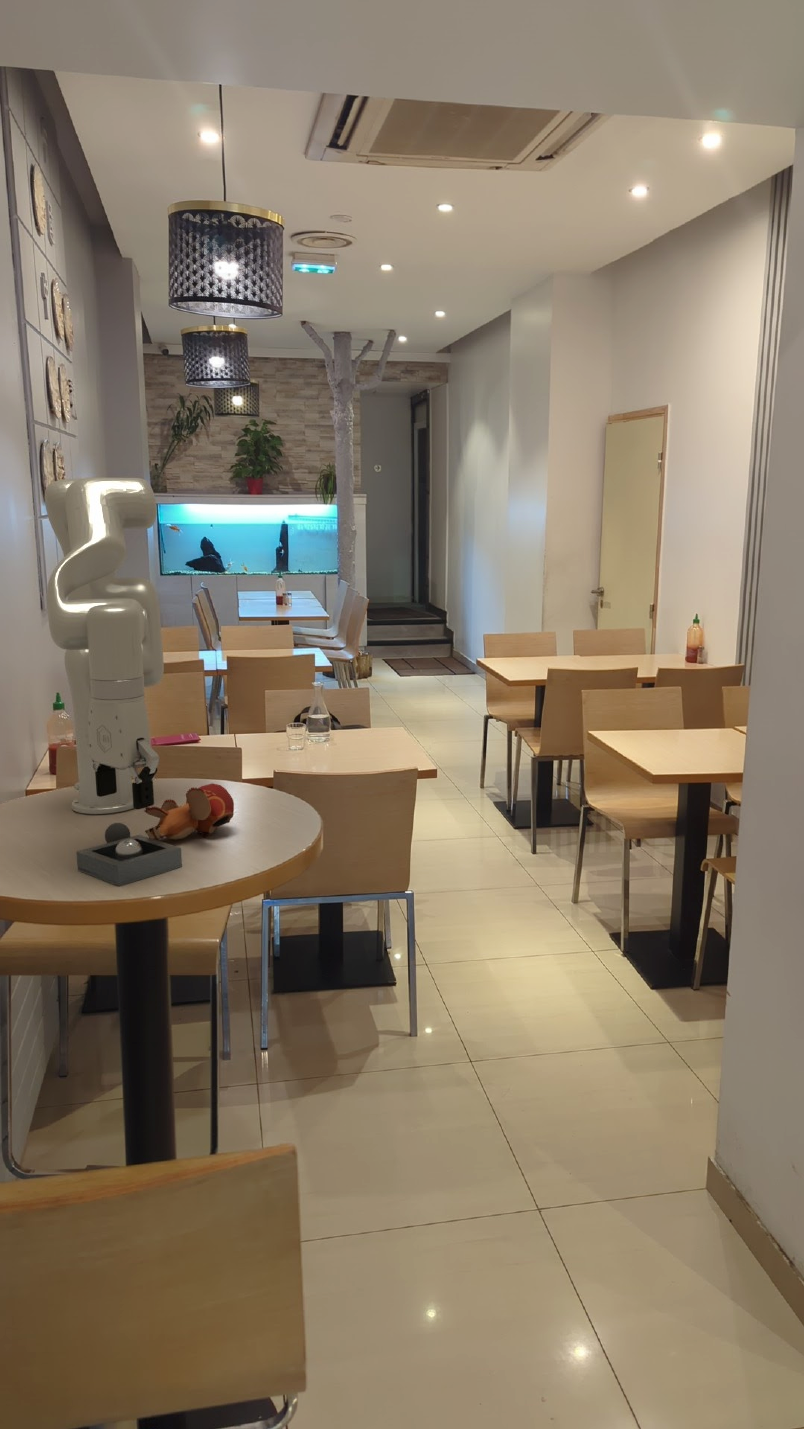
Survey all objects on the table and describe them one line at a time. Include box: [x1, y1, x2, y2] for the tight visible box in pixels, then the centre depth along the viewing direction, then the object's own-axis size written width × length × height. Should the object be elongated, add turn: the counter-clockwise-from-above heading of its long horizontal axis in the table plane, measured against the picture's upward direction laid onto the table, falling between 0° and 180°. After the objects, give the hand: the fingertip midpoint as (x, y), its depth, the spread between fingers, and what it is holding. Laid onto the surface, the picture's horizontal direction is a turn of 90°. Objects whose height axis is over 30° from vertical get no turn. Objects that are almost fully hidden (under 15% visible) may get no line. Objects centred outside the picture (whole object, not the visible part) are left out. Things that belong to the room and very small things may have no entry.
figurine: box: [143, 783, 235, 841], centre depth 163 cm, size 20×9×15 cm
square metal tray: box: [76, 834, 183, 887], centre depth 147 cm, size 11×11×3 cm
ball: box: [104, 822, 131, 843], centre depth 158 cm, size 4×4×4 cm
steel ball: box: [115, 839, 143, 862], centre depth 147 cm, size 4×4×4 cm
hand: (125, 800), depth 147 cm, fingers open, 9 cm apart
